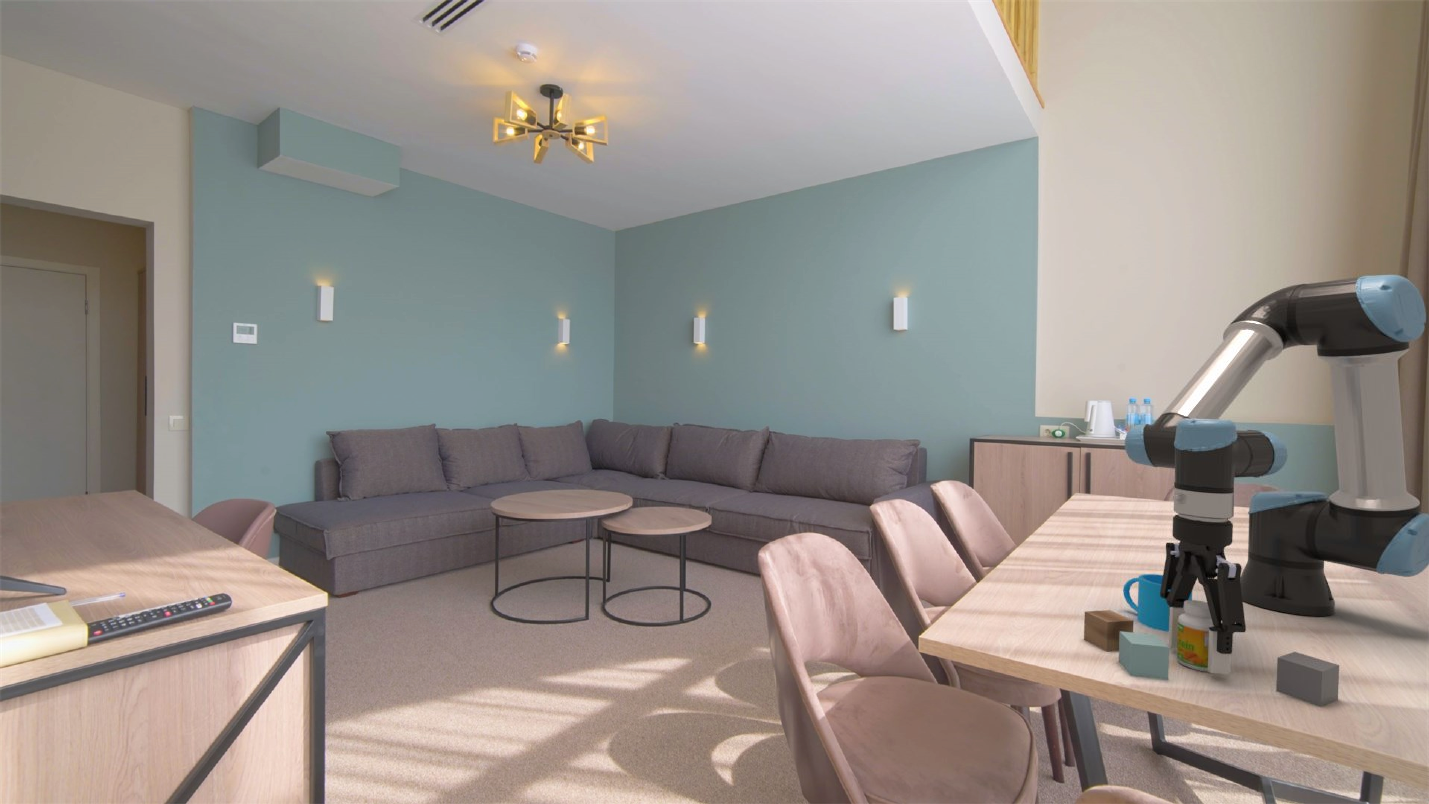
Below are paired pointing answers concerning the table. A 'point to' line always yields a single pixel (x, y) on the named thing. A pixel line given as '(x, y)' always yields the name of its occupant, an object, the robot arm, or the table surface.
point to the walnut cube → (1105, 628)
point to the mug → (1149, 601)
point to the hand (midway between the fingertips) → (1197, 659)
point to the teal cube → (1144, 655)
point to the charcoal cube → (1307, 678)
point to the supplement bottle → (1194, 635)
